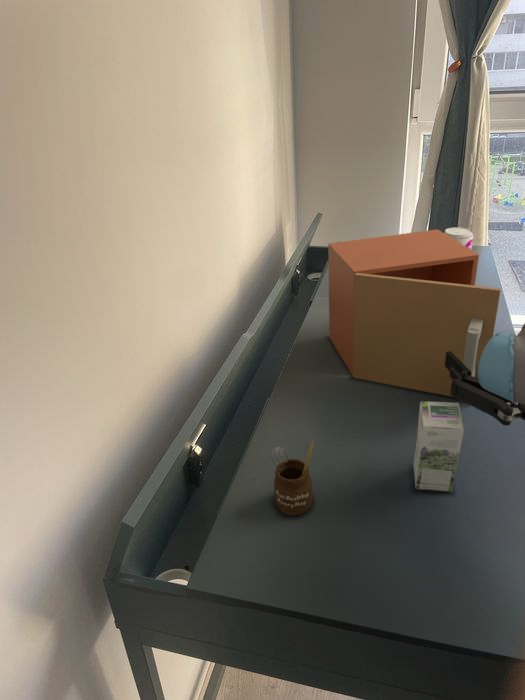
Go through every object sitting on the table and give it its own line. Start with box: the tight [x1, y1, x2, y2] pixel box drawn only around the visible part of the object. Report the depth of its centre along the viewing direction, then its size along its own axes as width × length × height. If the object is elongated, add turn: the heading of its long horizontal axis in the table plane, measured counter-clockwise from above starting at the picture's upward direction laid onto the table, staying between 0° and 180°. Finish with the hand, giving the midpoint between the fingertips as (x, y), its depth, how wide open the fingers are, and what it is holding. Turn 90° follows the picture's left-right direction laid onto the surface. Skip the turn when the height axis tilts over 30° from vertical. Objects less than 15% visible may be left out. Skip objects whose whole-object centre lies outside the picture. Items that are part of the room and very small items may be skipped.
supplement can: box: [443, 226, 474, 251], centre depth 150 cm, size 8×8×15 cm
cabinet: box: [327, 229, 480, 376], centre depth 118 cm, size 18×26×24 cm
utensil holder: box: [270, 441, 314, 516], centre depth 81 cm, size 6×6×12 cm
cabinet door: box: [352, 273, 502, 398], centre depth 100 cm, size 7×26×24 cm, turn 64°
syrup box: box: [412, 400, 465, 493], centre depth 82 cm, size 6×6×14 cm
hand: (486, 351), depth 86 cm, fingers open, 13 cm apart
